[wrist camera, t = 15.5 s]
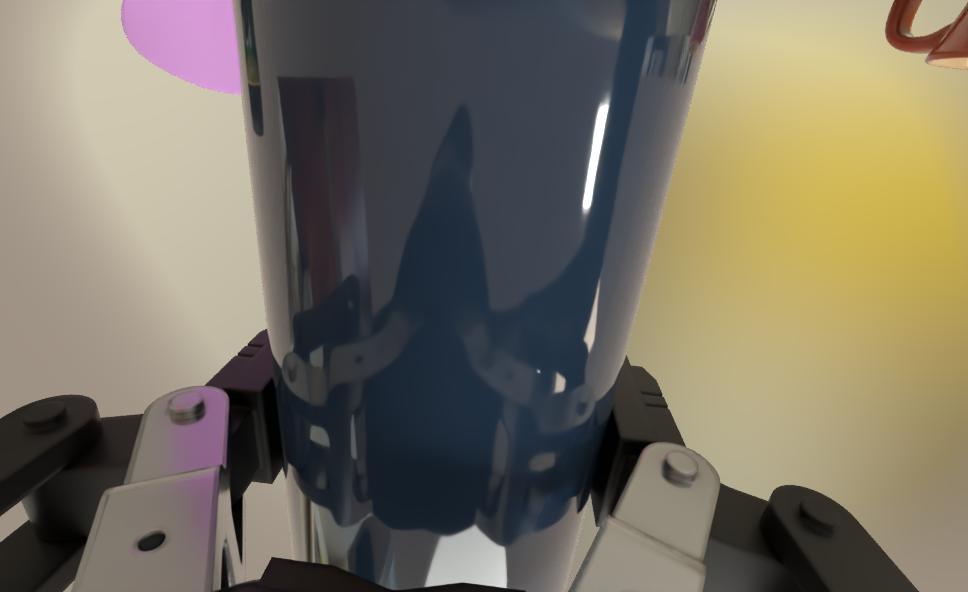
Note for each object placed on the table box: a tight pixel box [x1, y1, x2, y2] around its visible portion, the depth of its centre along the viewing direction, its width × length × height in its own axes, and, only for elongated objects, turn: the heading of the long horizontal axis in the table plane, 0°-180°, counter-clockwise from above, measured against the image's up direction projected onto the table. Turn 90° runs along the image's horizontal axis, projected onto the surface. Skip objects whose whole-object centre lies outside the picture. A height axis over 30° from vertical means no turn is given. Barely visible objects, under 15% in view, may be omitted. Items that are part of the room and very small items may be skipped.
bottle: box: [231, 0, 717, 592], centre depth 10 cm, size 6×6×20 cm
